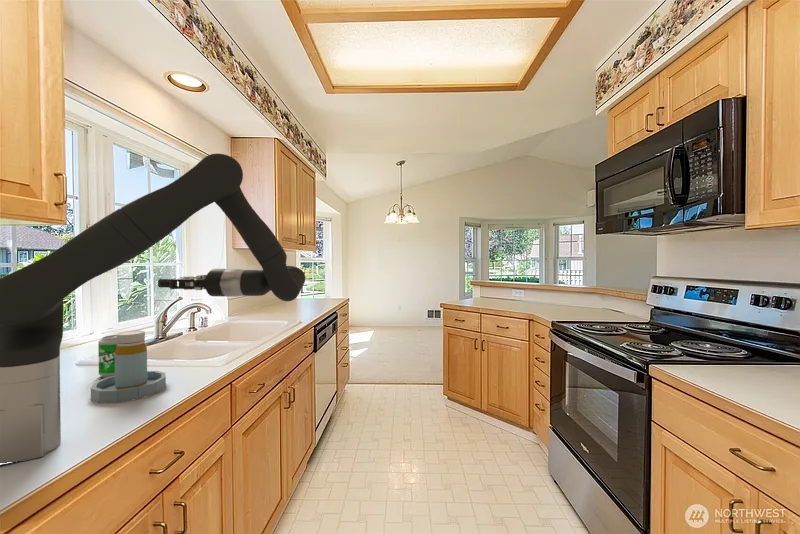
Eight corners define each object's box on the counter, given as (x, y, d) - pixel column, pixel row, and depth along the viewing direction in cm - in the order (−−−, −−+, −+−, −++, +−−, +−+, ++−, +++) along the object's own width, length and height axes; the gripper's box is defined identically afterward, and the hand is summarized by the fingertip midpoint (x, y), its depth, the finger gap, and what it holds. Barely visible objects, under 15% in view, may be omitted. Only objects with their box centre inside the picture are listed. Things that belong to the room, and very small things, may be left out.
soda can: (105, 372, 112) (105, 334, 112) (133, 370, 114) (133, 333, 114) (93, 380, 105) (93, 340, 104) (123, 377, 107) (123, 338, 107)
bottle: (130, 392, 93) (129, 335, 92) (108, 390, 94) (107, 334, 94) (153, 383, 99) (152, 330, 99) (132, 381, 101) (132, 329, 100)
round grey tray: (165, 394, 94) (165, 383, 94) (86, 407, 85) (86, 395, 85) (165, 377, 108) (165, 367, 108) (96, 387, 99) (96, 377, 99)
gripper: (241, 268, 102) (186, 267, 103) (214, 269, 88) (150, 268, 88) (241, 293, 103) (186, 293, 103) (214, 299, 88) (150, 298, 89)
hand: (169, 282), depth 96 cm, fingers open, 8 cm apart
